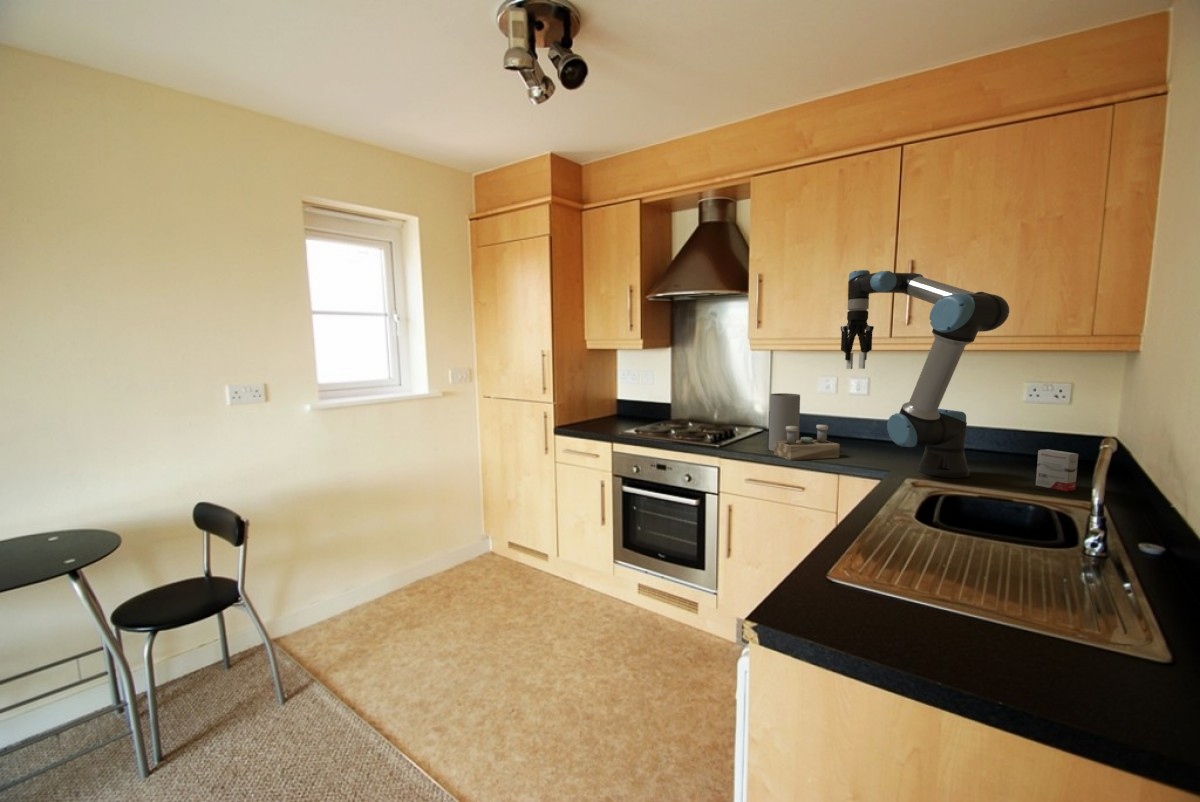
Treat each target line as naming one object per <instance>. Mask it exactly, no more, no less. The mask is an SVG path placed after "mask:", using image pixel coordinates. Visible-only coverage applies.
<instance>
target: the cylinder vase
mask: <svg viewBox="0 0 1200 802" xmlns="http://www.w3.org/2000/svg"><path fill="white" fill-rule="evenodd" d="M800 409H801V394H800V393H799V394H798V393H787V392H786V393H783V392H782V393H776V392H775V393H770V394H769V414H768V415H769V418H768V419H769V421H768V429H769V430H768V450H769V451H772V452H775V441H787V431H786V426H796V427H798V431H796V440H800V420H801V419H800V413H801V410H800Z"/></svg>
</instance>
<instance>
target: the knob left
mask: <svg viewBox="0 0 1200 802" xmlns="http://www.w3.org/2000/svg"><path fill="white" fill-rule="evenodd" d="M786 431H787V444H788V445H796V431H798V427H796V426H786Z"/></svg>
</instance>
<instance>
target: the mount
mask: <svg viewBox="0 0 1200 802" xmlns="http://www.w3.org/2000/svg"><path fill="white" fill-rule="evenodd" d="M840 446H841V445H840V443H837V442H833V441H829V440H826V443H817V438H815V439H813V442H811V444H803V443H802V442H801V439H799V440H796V445H788V444H787V441H775V451H774V453H773V454H774V455H776V456H777V457H780V458H783V459H786V460H788V461H803V460H818V459H835V458H840V448H841V447H840Z"/></svg>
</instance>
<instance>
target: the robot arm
mask: <svg viewBox="0 0 1200 802" xmlns="http://www.w3.org/2000/svg"><path fill="white" fill-rule="evenodd" d="M847 284H848V285H847V287H848V288H847V312H846V313H847V314H846V315H847V316H846V317H847V318H846V320H847V323H846V324H845V325H842V326H840V331H841V332H840V333H841V340H840V351H841V352H843V353H844V354H845V355H844V356H845V358H844V359H845V361H846V369H847V370H853V365H854V364H853V362H854V352H852V350H853V347H854V342H855V339H856V337H858V342H859V346H860V347H859V348H860V352H858V369H863V370H864V369H865V368H866V360H867V357H868V353H869V352H870V351H872V350H873V332H874V328H875V326H873V325H869V323H868V320H869V309H870V307H869V305H870V300H869V299H870V294H880V293H881V294H882V293H883V294H904V295H907V296H910V297H912V298H916V299H917V300H921V301H924V302H927V303H930V304H932V305H933V307H931V310H930V313H929V320H930V321H929V324H930V326H931V327H932V331H931V333H932V335H933V336H934V340H933V343H932V345H931V346H930V350H929V352H928V354H927V356H926V357H927V358H926V360H925V362H924V364H923V367H922V370H921V371H920V375H919V376H918V379H917V381H916V384H915V387H914V389H913V392H912V394H911V396H910V399H909V401H907V402H904V403H903V404H902V406H901V408H900V411H899V412H896V413H894V414H892V415H890V416H889V418H888V421H887V425H886V428H887V433H888V435H889V437H890V439H891V440H892V442H893V443H894V444H896V445H898V446H900V447H908V448H914V447H924V446H925V448H924V452H923V454H922V457H921V459H920V462H919V463H918V468H917V469H918V471H919V472H920V473H922V474H925V475H929V476H933V477H934V476H935V477H941V478H950V479H958V478H959V479H962V478H968V477H969V476H970V467H969V466H968V462H967V458H966V454H965V451H966V450H965V448H966V435H967V424H968V423H967V414H966V412H964V411H962V410H961V411H960V410H951V409H944V408H939V407H940V405H941V402H942V400H943V398H944V396H945V394H946V391H947V390H948V389H947V388H948V386H949V384H950V382H951V380H952V378H953V375H954V373H955V370H956V369H957V366H958V364H959V362H960V359H961V357H962V355H963V352H964V351H965V348H966V346H967V345H969V344H971V343H974V341H975V339H976V337H977V335H978V332H979V333H980V332H981V333H982V332H989V331H994V330H996V329H998V328H999V327H1001V326H1002V325H1003V324H1005V322H1006V321H1007V319H1008V318H1009V315H1010V305H1009V304H1008V302H1007V300H1006V299H1004V297H1001V296H1000V295H997V294H992V293H988V292H984V291H977V292H973V291H970V290H966V289H963V288H960V287H956V286H953V285H950V284H946V283H943V282H939V281H936V280H933V279H929V278H926V277H924V276H923V274H921V273H916V272H892V271H890V270H884V271H883V270H880V271H878V272H874V273H871V272H870V270H868V269H859V270H852V271H851V272H849V275H848V281H847Z"/></svg>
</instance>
